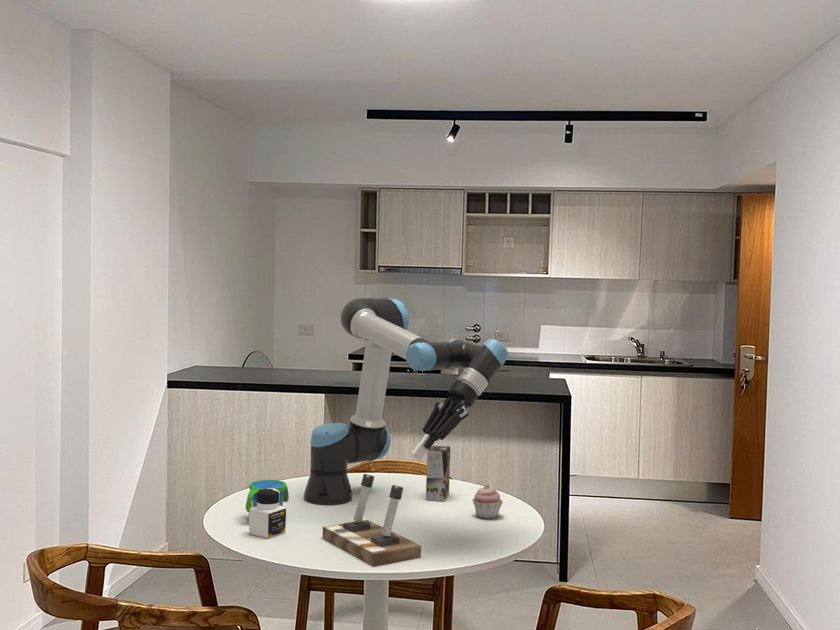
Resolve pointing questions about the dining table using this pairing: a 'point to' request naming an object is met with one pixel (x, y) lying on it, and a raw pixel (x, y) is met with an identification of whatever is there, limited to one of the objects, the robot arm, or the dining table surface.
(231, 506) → the dining table surface
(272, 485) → the snack cup
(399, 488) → the lever
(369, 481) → the lever
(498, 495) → the cupcake
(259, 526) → the medicine bottle
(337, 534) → the switch unit
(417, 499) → the dining table surface
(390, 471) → the dining table surface
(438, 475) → the coffee box
